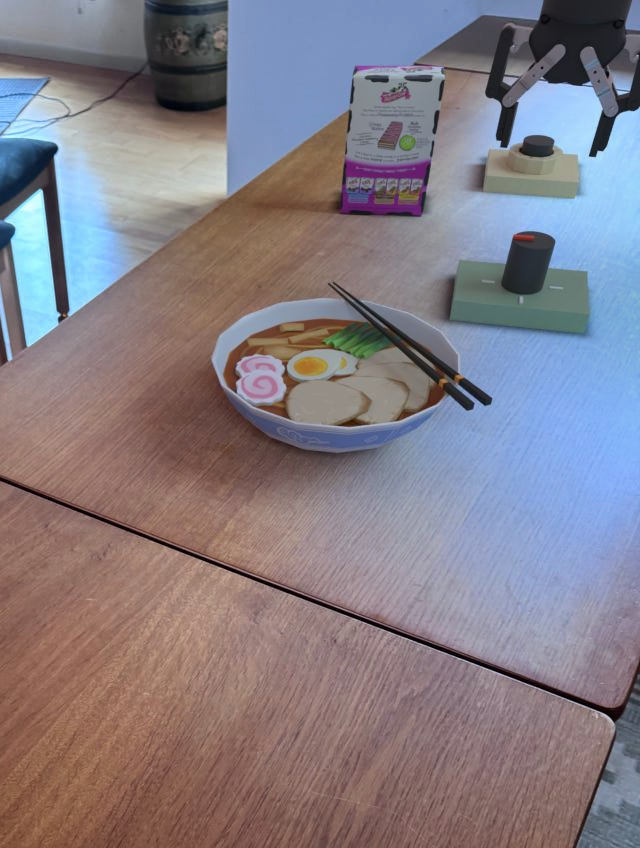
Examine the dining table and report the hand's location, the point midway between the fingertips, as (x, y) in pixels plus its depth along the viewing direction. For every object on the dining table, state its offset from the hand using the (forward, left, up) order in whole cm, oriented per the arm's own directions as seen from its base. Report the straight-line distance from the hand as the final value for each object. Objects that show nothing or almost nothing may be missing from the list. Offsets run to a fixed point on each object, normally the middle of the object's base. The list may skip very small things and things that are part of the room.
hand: (547, 149), depth 91 cm
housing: (-2, -37, -16) cm, 40 cm away
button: (-2, -37, -13) cm, 39 cm away
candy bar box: (+17, -24, -17) cm, 34 cm away
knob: (-1, +1, -13) cm, 14 cm away
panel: (-1, +1, -16) cm, 17 cm away
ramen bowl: (+16, +28, -17) cm, 37 cm away
